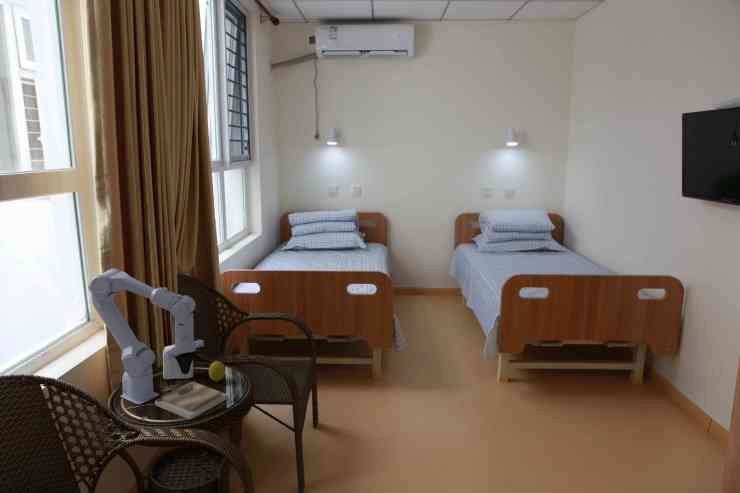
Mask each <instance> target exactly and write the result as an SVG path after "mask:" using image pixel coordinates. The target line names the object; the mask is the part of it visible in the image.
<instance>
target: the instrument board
mask: <svg viewBox="0 0 740 493" xmlns="http://www.w3.org/2000/svg"><path fill="white" fill-rule="evenodd" d="M222 393H223V392H222V391H219V390H217V389H214V388H211V387H208V386H205V385H203V384H200V383H197V382H196V383H195V382H194V381H190V382H188V383H185V384H184V385H181V386H179V387H177V388H175V389H174V390H171V391H169V392H166V393H165V394H162V395H160V396H161V397H160V398H162V399H163V400H166V401H168V402H171V403H173V404H176V405H178V406H181V407H183V408H186V409H188V410H191V411H193V410H195V409H197V408H199V407H201V406H202V405H204V404H206V403H208V402H210V401H212V400H213V399H215V398H217V397H219V396H221V395H222Z"/></svg>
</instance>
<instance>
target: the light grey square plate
mask: <svg viewBox="0 0 740 493" xmlns="http://www.w3.org/2000/svg"><path fill="white" fill-rule="evenodd" d="M193 382H195V383H197V381H195V380H194V381H193ZM228 398H229V395H228V394H227V393H224V392H222V395H221V396H219V397H217V398H215V399H213V400H212V401H210V402H208V403H206V404H204V405H202V406H201V407H199V408H197V409H195V410H193V411H191V410H188V409H186V408H183V407H181V406H178V405H176V404H173V403H171V402H168V401H166V400H163V399H162V398H161V397H159V398H157V399H156V400H154V403H155V404H154V406H156V407H159V408H161V409H164V410H165V411H168V412H171V413H173V414H175V415H177V416H180V417H183V418H184V419H187V420H190V419H191V420H192V419H195V418H196V417H197V416H198V417H199V415H201V414H203V413H205V412H206V411H209V410H210V409H212V408H214V407H216V406H218V405H220V404H221V403H222V402H224V401H226V400H228Z"/></svg>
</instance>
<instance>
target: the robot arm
mask: <svg viewBox="0 0 740 493" xmlns="http://www.w3.org/2000/svg"><path fill="white" fill-rule="evenodd" d="M87 288H88V289H89V292H90V293H91V294H90V295H91V300H92V305H93V307H94V308H95V310H96V312H97V314H98V315H99V317H100V318H101V321H103V323H104V324H105V326H106V327H107V329H108V331H109V332H110V334H111V335H112V336H113V338H114V340H115V342H116V343H117V345H118V346H119V348H120V350H121V362H122V363H123V368H124V369H123V370H124V373H123V375H122V378H121V383H122V384H121V385H122V387H121V388H122V394H121V395H120V398H121V397H122V399H124V400H126V401H129V402H131V403H133V404H136V405H138V406H139V405H141V404H143V403H144V404H145V403H146V402H148V401H150V400H152V399H154V398H156V397H159V396H160V393H158V392H155V391H154V383H153V378H154V377H153V376H154V375H153V366H152V365H153V364H154V363H155V361H156V355H155V353H154V351H153V350H152V349H151V348H149V347H148V346H147V344H146V343H144V342H141V341H139V339H138V338H137V337H136V335H135V334H134V332H133V330H132V329H131V327H130V326H129V324H128V322H127V320H126V319H125V318H124V316H123V314H122V313H121V310H119V308H118V307H117V304H116V303H115V302H114V299H115V296H116V294H117V292H119V291H120V292H121V291H128V292H131V293H133V294H136V295H139V296H141V297H143V298H147V299H149V301H150V302H151V304H152V305H154V306H156V307H159V308H162V309H164V310H166V311H167V312H168V311H169V312H171V315H172V316H173V318H174V345H175V347H174V348H172V349H171V350H169V351H168V352H166V353H164V359H165V360H171V358H173V357H175V359H176V360H177V362H178V364H179V367H180V370H181V373H182V374H185V375H186V374H188V373H189V370H190V366H191V363H192V361H193V362H194V359H195V357H196V356H197V354H196V353H197V352H196V349H198V348H200V347H204V345H205V343H204V340H202V339H197V340H194V339H195V335H194V332H195V331H194V330H195V329H194V313H193V311H194V310H195V309H196V301H195V299H194V298H192V297H191V296H190V295H182V294H180V293H178V294H177V293H174V292H173V291H170V290H169V289H168V287H165V286H164V287H162V286H161V287H160V286H159V287H156V288H154V287H152V286H150V285H148V284H146V283H145V282H141V281H140V280H138V279H136V278H134V277H132V276H131V275H129V274H128V273H127V272H125V271H122V270H120V269H118V268H109V269H107V271H104V272H102V273H100V274H97V275H94V276H93V277H92V278H91V279H90V282H89V284H88V287H87Z"/></svg>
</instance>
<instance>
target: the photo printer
mask: <svg viewBox="0 0 740 493" xmlns="http://www.w3.org/2000/svg"><path fill="white" fill-rule="evenodd" d="M174 347H175V344H171V345H167V346H164V348H163V351H162V367H163V368H162V374H163V375H162V376H163V379H164V380H175V379H177V380H179V379H191V378H193V377H194V360H193V361H192V363H191V366H190V370H189V373H188V374H186V375H185V374H182V373H181V370H180V367H179V364H178V362H177V360H176V359H175V357H173V358H171V360H165V359H164V353H166V352H168V351H169V350H171V349H172V348H174Z"/></svg>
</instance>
